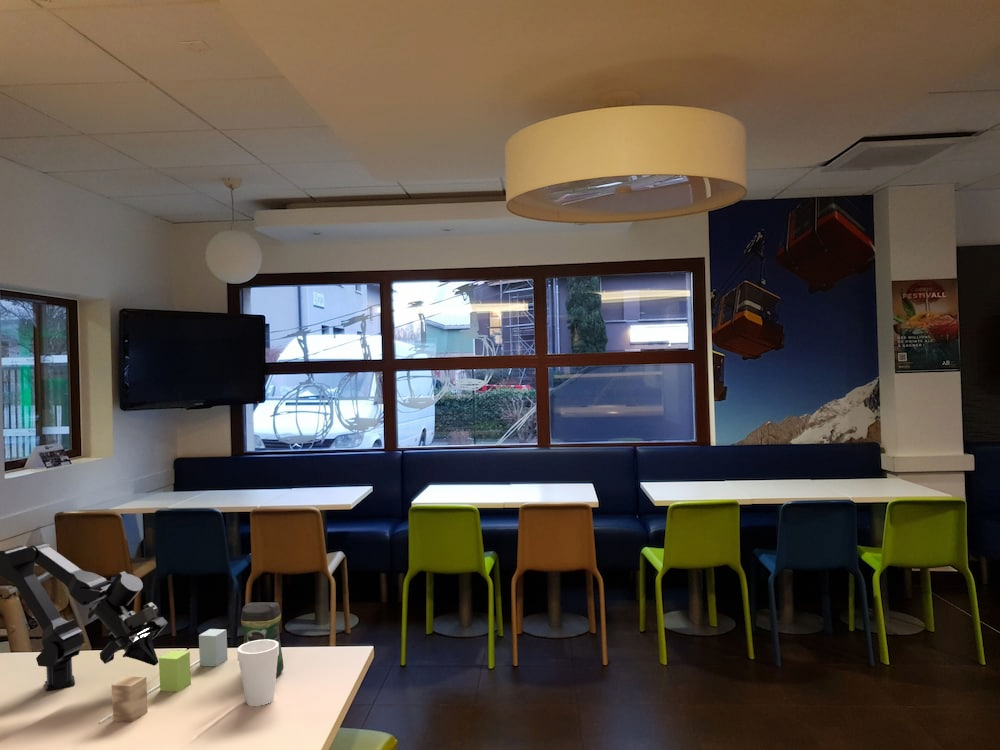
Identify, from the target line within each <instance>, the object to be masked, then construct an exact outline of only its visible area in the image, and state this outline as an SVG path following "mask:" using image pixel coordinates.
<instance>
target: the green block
mask: <svg viewBox="0 0 1000 750" xmlns="http://www.w3.org/2000/svg"><path fill="white" fill-rule="evenodd" d="M190 656H191V653H190V651H185V650H170V651H168V653H166V654H163V655H162V656H160V657H158V661H159V662H158V664H159V665H158V667H159V668H158V669H159V673H158V674H159V684H160V687H159V691H160V692H161V691H162V692H173V693H174V692H177V693H179V692H180V691H182V690H183V689H185V688H186V687H187V686H189V685H190V684H192V678H191V668H190V664H191V657H190Z"/></svg>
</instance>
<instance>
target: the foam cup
mask: <svg viewBox="0 0 1000 750" xmlns="http://www.w3.org/2000/svg"><path fill="white" fill-rule="evenodd" d="M278 655H279V642H277V641H275V640H269V639H265V640H255V641H250V642H247V643H245V642H244V643H243V644H241V645H240V646H238V648H237V661H238V664H239V669H240V675H241V682H242V687H243V691H244V696H245V697H244V698H245V701H246V705H247V704H248V705H247V706H249V707H253V706H256V707H262V706H261V705H263V706H266V705H265V704H267V705H269V704H270V702H271V703H273V702H274V700H275V692H276V682H277V680H276V679H277V676H276V671H277V660H278ZM268 703H269V704H268Z"/></svg>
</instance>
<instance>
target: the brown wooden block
mask: <svg viewBox="0 0 1000 750" xmlns="http://www.w3.org/2000/svg"><path fill="white" fill-rule="evenodd" d="M147 691H148V690H147V677H144V676H135V675H134V676H133V675H132V676H131V675H126V676H125V677H124V678H122V679H120V680H118V681H116V682H115V683H113V684H111V697H112V700H111V701H112V702H111V703H112V713H113V717H112V719H113V720H112V721H115V722H128V723H129V722H130V723H133V722H135V721H136V720H138V719H140V718H141V717H142V716H144V715H146V714H147V713H148V709H149V707H148V695H147Z"/></svg>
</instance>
